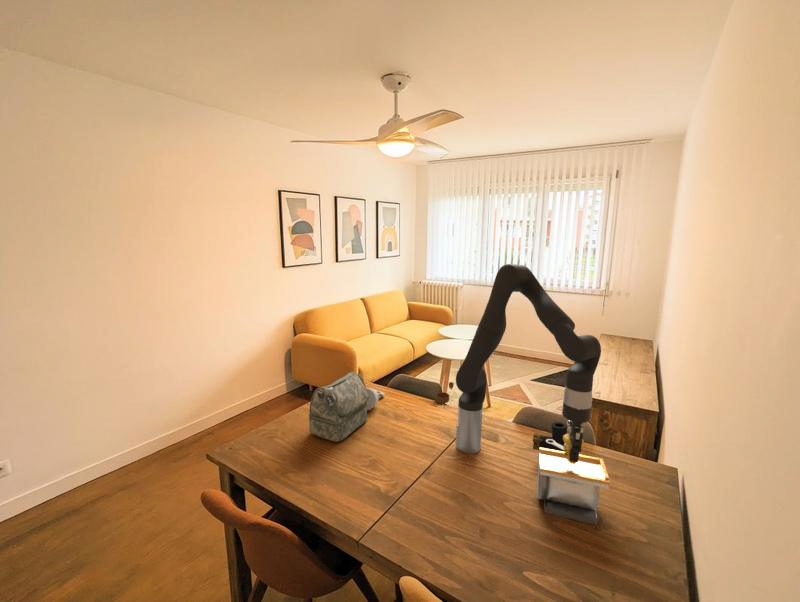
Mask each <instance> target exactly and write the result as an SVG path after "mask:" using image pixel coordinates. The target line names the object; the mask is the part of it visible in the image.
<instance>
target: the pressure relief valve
mask: <svg viewBox="0 0 800 602" xmlns="http://www.w3.org/2000/svg"><path fill="white" fill-rule="evenodd" d="M571 437H572V436H571ZM548 441H553V443H550V442H548ZM563 441H564V442H565V444H564V446H562V445H560V444H558V443H556V442H555V441H554V440H552V439H547V440H546V442H547V443H549V444H552V445H554V446H556V447H558V448H560V449H562V450H564V451H565V450H567V451H565V452H564V455H565V457H566V459H567V460H568V461H569V463H570V464H576V463H577V462H572V461H570V443H571V441H570V440H569V433H568V432H567V434H565V435H564V436H563ZM583 445H584V438H582V446H583ZM574 446H578V445H576V444H574ZM578 461H579V457H578Z"/></svg>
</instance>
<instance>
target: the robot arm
mask: <svg viewBox="0 0 800 602" xmlns="http://www.w3.org/2000/svg"><path fill="white" fill-rule="evenodd" d="M514 292H517V293H520V294H522V295H523V297H526V299H528V301H530V302H531V305H532V306H533V309H534V310H535V314H536V316H537V318H538V319H539V321H540V322H541V323H542V325H543V326H544V327H545V328H546V329H547V330H548V331H549V332H550V334H551V335H553V337H554V339H555V341H556V343H557V345H558V346H559V349H560V350H561V352H562V353H563V355H564V356H566V358H568V359H569V360H570V361H572V362H573V364H572V365H571V366H569V367H568V369H567V370H566V376H565V387H564V390H563V391H564V392H563V399H562V409H561V411H562V412H561V414H562V416H563V418H565V419H566V420H567V421H566V425H567V434H568V433H569V440H570V441H571V443H570V461H572V462H578V457H579V455H580V453H582V447H583V445H582V439H584V438H583V437H584V426H583V424H584V423H588V422H589V421H590V420H591V415H592V408H593V407H592V404H593V385H594V374H595V373H596V370H597V368H598V364H599V362H600V360H601V359H600V358H601V354H602V353H601V352H602V346H601V343H600V341H599V340H598V338H597V336H594V335H593V334H592V335H591V334H584V335H580V336H578V334H576V332H575V331H574V330H575V328H576V324H575V321H573V319H572V318H571V317H570V316H569V315H568V314H567V313H566V312H565V311H564V310H563V309H562V308H561V307H560V306H559V305H558V304H557V303H556V302H555V301H554V300H553V299H552V297H551V296H550V295H549V294H548V293H547V292H546V290H545V288H544V287H543V286H542V285H541V283H540V282H539V281H538V279H537V278H536V276H535V275H534V273H533V272H532V271H531V269H530V268H528V267H527V266H526V265H522V264H514V263H506V264H503V265H502V266H501V267H500V268H499V269H498V271H497V272H496V275H495V279H494V281H493V285H492V287H491V292H490V294H489V299H488V302H487V303H486V306H485V308H484V312H483V315H482V317H481V319H480V321H479V323H478V326H477V328H476V329H475V334H474V336H473V339H472V341H471V344H470V346H469V348H468V351H467V354H466V356H465V358H464V360H463V362H462V363H461V366H460V367H459V368H458V371H457V372H456V376H455V384H456V387H457V389H458V390H459V391H460V392H462V393H461V394H460V396H459V398H458V407H457V408H458V411H457V424H456V429H455V430H456V433H455V434H456V435H455V450H459V451H460V452H462V453H464V454H477V453H479V452H480V451H481V448H482V430H483V429H482V428H483V427H482V425H483V406H484V402H485V399H486V395H487V394H486V392H487V381H488V380H487V374H486V370H484V368H483V367H484V366H485V364H486V362H487V361H488V360H489V358H491V356H492V354H493V353H494V352H495V351H496V349H497V348H498V346H500V343H501V341H502V339H503V336H504V334H505V332H506V329H507V316H506V311H507V310H506V309H507V305H508V303H509V300H510V298H511V295H512V294H513V293H514ZM571 436H572V437H571ZM574 444H576V445H578V446H574Z"/></svg>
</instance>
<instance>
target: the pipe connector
mask: <svg viewBox="0 0 800 602" xmlns="http://www.w3.org/2000/svg"><path fill="white" fill-rule="evenodd" d="M565 434H568V432H567V423H564V422H562V421H561V422H560V421H557V422H552V423H551V436H550V435H549V436H548V435H543V434H537V433H533V437H532V443H533V445H532V450H535V451H539V450H540V447H541V448H546V449H552V450H557V451H563V452H565V451H567V450H565V451H564V450H562V449H560V448H558V447H556V446H554V445H552V444H549V443H547V442H546V440H547V439H552V440H554V441H555V442H556V443H558V444H560V445H562V446H564V444H565V442H564V441H563V436H564V435H565ZM548 442H550V443H553V441H548Z"/></svg>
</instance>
